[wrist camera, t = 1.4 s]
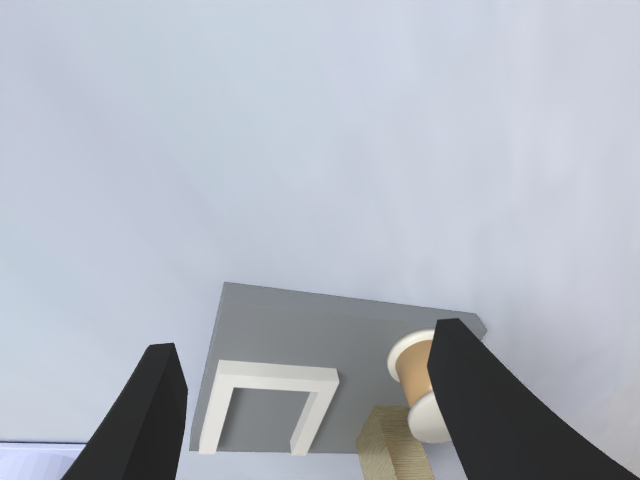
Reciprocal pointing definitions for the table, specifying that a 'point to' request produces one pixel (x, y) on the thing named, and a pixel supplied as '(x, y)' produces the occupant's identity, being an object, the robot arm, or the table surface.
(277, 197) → the table surface
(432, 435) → the spool
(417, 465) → the brass tab
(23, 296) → the table surface
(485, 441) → the robot arm
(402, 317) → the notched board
